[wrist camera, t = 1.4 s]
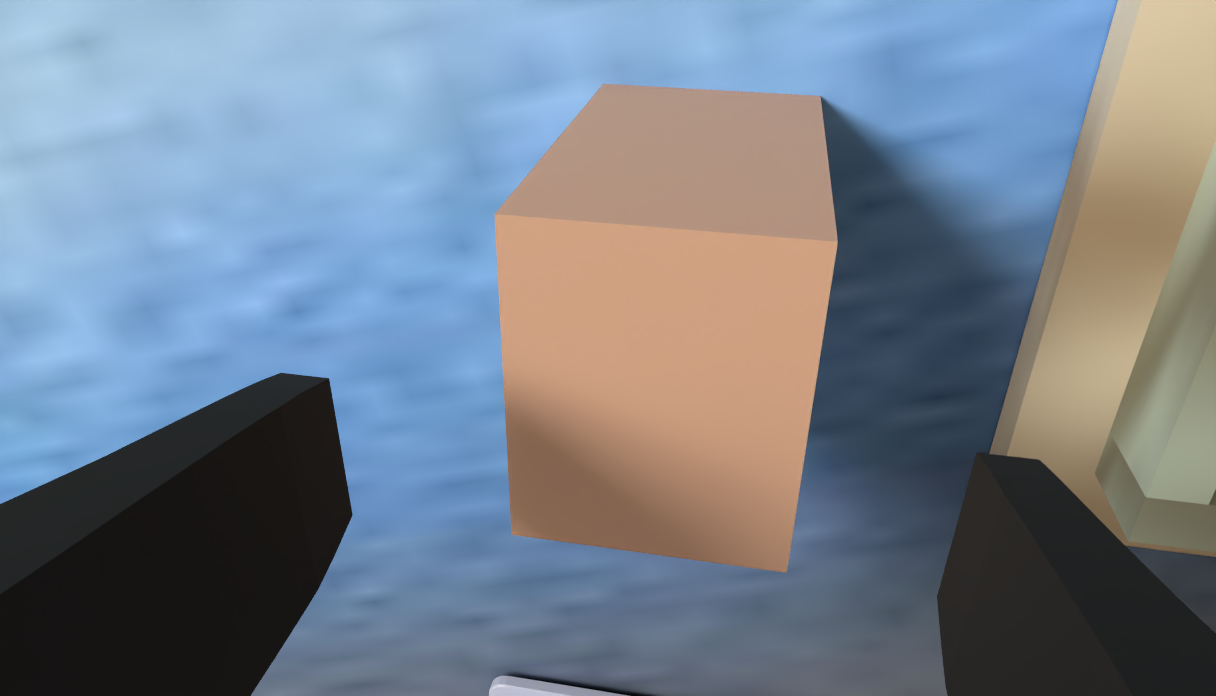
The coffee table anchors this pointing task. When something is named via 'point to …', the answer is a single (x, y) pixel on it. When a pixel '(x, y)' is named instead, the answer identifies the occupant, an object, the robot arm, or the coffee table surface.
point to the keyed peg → (667, 322)
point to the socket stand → (1132, 293)
